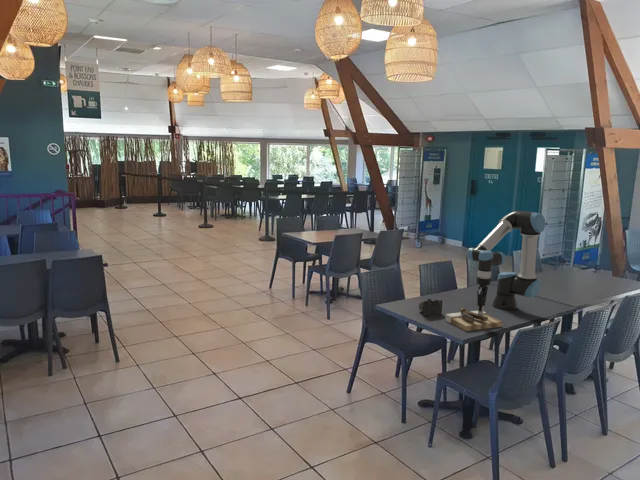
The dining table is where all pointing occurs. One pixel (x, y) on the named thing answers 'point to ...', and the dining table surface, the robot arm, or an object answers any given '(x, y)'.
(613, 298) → the dining table surface
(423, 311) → the camera
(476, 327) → the door slab
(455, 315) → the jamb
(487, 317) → the swing bar
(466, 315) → the bar
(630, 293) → the dining table surface
